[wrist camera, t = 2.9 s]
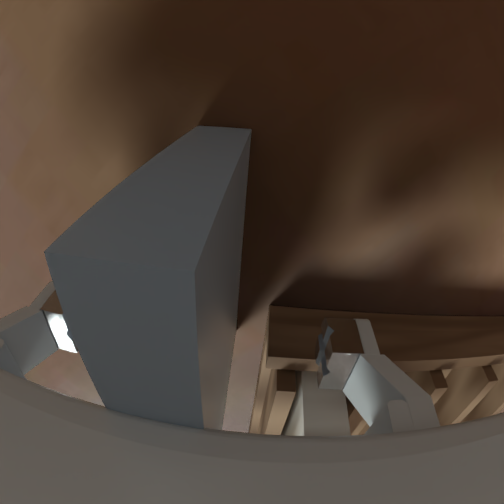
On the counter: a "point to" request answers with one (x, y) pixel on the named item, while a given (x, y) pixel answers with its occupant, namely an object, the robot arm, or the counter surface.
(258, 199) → the counter surface
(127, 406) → the grey upright panel
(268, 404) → the rack
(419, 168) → the counter surface
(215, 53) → the counter surface
